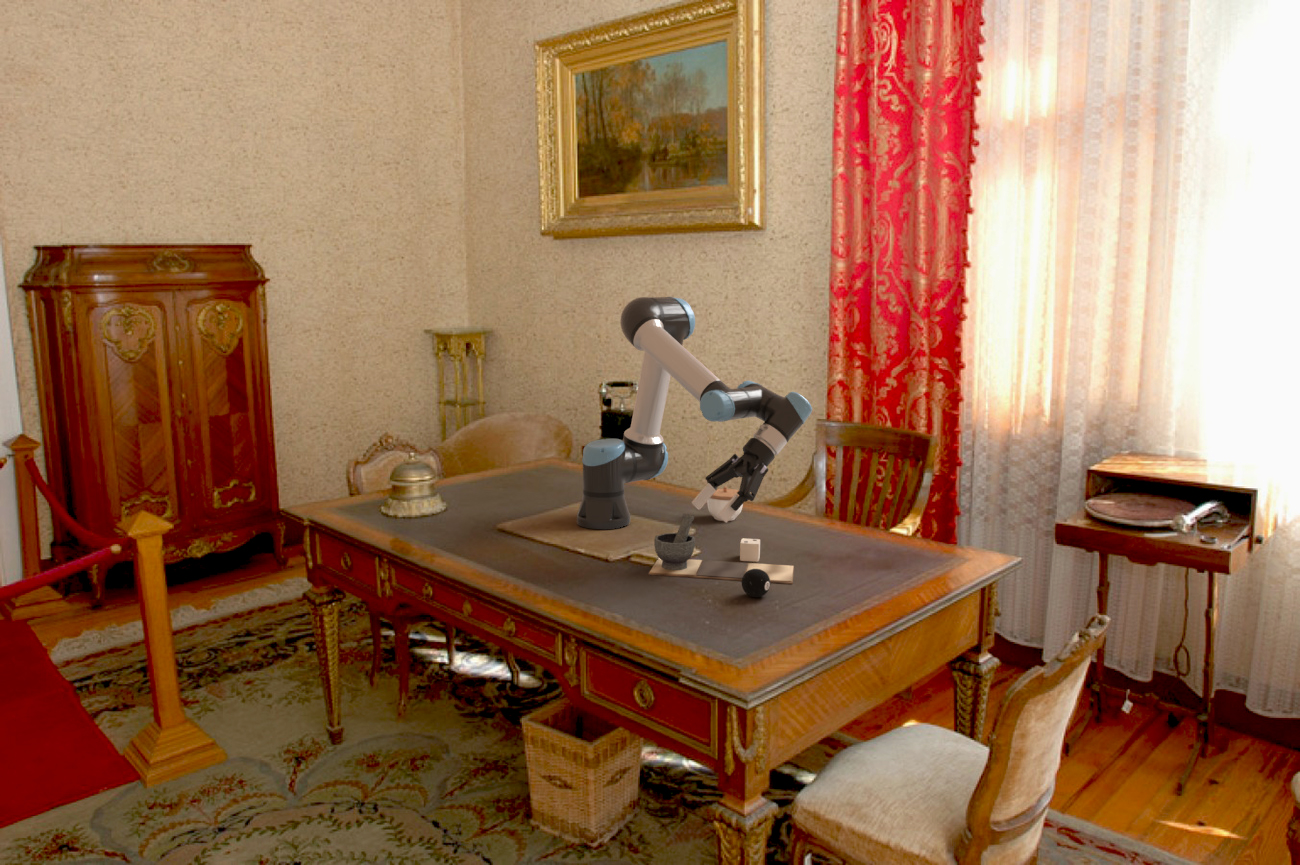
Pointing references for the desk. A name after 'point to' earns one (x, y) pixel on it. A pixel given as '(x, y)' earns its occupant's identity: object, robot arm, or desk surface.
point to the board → (726, 570)
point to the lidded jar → (722, 502)
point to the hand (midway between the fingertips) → (708, 512)
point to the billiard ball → (755, 583)
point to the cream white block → (750, 550)
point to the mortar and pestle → (676, 546)
